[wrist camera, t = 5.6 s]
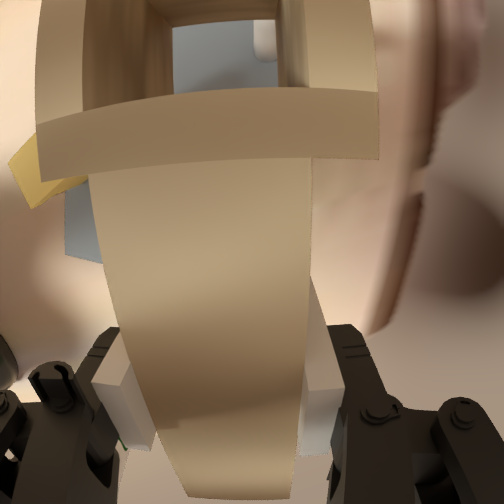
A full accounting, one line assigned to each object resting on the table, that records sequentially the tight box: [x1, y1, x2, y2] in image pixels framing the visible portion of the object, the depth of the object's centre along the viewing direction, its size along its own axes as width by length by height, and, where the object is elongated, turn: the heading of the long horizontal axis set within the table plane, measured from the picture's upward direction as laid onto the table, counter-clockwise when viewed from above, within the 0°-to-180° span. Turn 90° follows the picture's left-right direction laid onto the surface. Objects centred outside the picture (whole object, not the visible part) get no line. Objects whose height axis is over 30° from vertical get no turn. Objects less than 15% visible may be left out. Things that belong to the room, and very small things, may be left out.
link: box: [35, 0, 379, 500], centre depth 9 cm, size 18×6×7 cm, turn 2°
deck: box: [8, 20, 278, 264], centre depth 21 cm, size 21×27×11 cm
